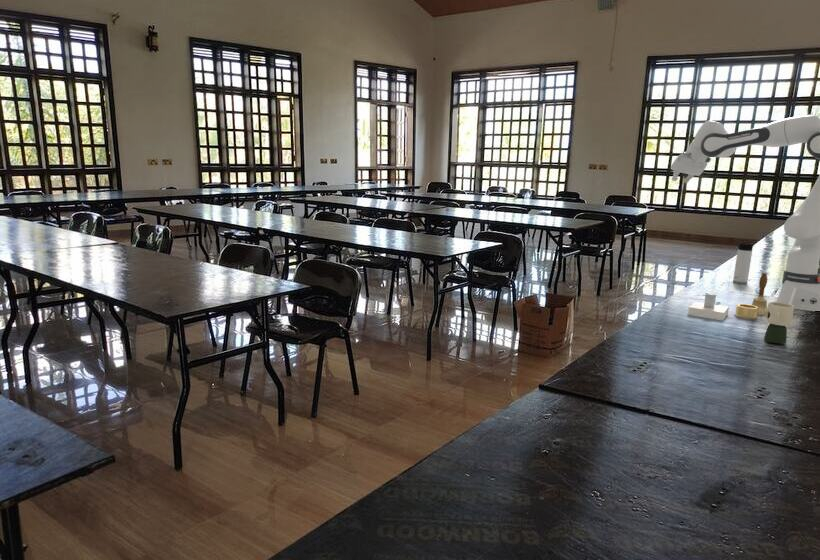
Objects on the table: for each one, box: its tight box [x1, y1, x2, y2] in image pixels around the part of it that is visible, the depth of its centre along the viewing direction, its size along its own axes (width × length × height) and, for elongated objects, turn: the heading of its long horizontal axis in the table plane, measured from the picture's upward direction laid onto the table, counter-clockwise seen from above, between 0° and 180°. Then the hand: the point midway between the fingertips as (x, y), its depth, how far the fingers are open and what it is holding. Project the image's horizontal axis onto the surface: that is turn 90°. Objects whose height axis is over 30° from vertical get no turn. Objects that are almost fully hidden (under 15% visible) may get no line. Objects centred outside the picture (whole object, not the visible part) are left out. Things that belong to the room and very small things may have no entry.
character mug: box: [763, 301, 795, 345], centre depth 188 cm, size 11×7×13 cm, turn 140°
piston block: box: [687, 292, 730, 322], centre depth 222 cm, size 12×12×8 cm
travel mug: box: [732, 243, 754, 285], centre depth 285 cm, size 6×7×20 cm
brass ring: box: [735, 303, 758, 320], centre depth 222 cm, size 7×7×4 cm
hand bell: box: [751, 272, 768, 316], centre depth 228 cm, size 8×8×16 cm
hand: (679, 181), depth 273 cm, fingers open, 8 cm apart
